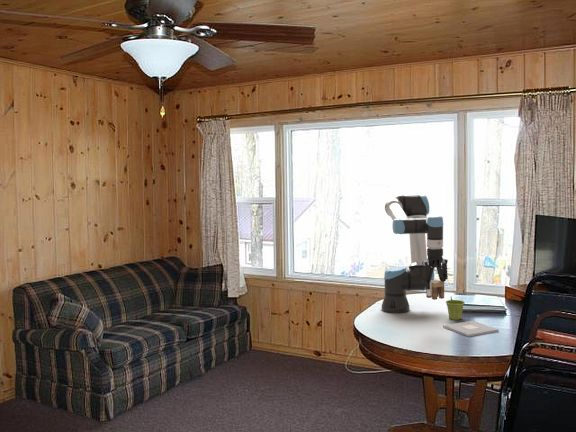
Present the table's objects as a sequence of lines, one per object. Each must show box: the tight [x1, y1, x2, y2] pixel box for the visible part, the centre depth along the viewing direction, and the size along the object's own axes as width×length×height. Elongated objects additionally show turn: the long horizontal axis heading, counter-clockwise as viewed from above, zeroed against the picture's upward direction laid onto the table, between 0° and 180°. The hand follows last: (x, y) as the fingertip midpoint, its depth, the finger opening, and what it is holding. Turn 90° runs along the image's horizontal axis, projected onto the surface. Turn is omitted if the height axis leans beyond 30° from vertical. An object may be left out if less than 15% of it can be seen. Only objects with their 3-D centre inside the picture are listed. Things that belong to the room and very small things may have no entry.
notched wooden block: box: [425, 279, 445, 301], centre depth 278 cm, size 6×6×8 cm
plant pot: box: [445, 299, 466, 321], centre depth 294 cm, size 9×9×9 cm
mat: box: [442, 320, 499, 338], centre depth 274 cm, size 18×18×1 cm
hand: (435, 294), depth 278 cm, fingers closed on notched wooden block, 6 cm apart
